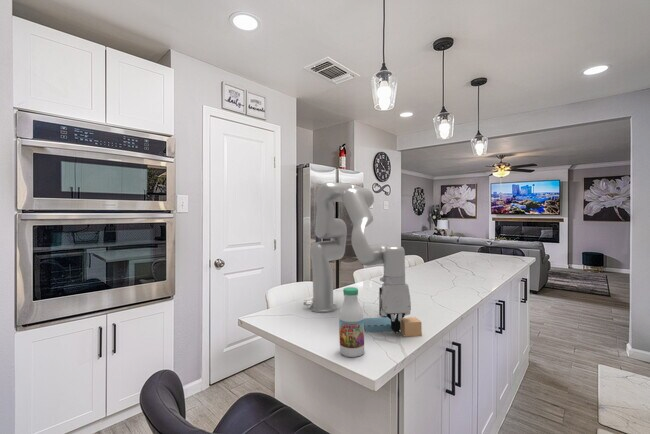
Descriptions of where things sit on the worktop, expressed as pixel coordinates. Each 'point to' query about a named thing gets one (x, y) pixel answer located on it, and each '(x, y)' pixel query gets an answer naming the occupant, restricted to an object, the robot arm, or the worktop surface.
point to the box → (379, 301)
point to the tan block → (411, 327)
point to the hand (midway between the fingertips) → (395, 331)
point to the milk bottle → (351, 325)
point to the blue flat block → (377, 324)
